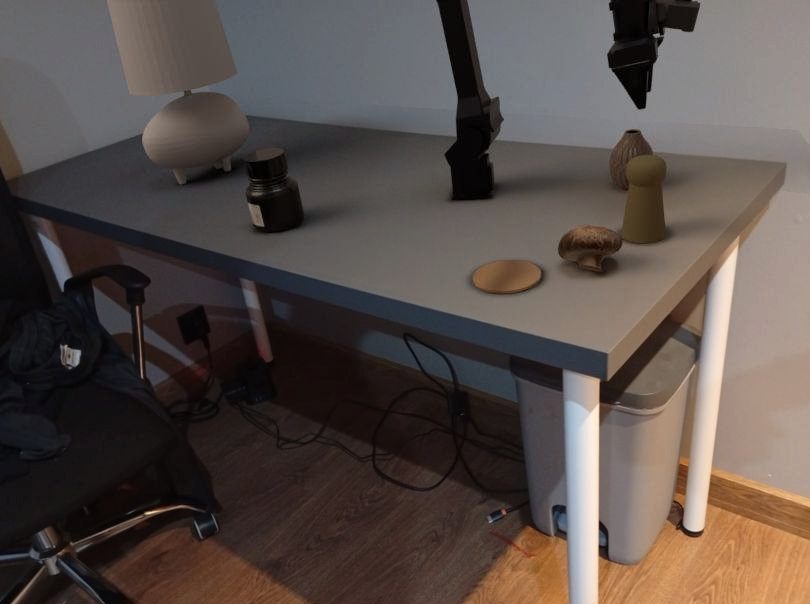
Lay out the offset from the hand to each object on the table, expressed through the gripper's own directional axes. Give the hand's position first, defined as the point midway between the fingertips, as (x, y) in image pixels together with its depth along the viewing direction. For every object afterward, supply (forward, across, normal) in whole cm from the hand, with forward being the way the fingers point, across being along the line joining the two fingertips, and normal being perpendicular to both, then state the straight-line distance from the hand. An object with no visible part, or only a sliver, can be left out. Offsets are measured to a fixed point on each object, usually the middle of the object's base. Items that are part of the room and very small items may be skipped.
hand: (644, 100), depth 108 cm
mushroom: (+14, -26, +6) cm, 30 cm away
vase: (+14, +3, +4) cm, 15 cm away
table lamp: (0, +11, +91) cm, 91 cm away
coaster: (+12, -31, +16) cm, 37 cm away
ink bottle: (+5, -14, +60) cm, 61 cm away
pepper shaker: (+15, -16, +1) cm, 22 cm away
